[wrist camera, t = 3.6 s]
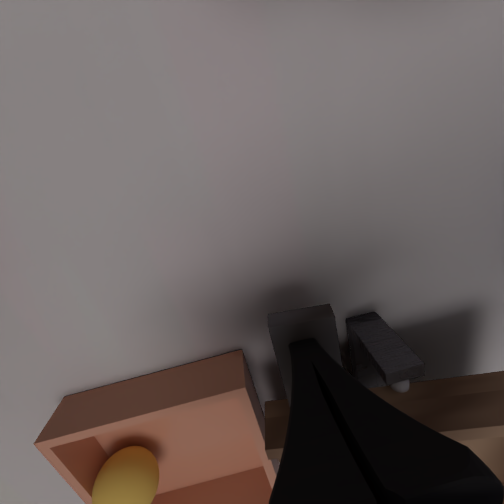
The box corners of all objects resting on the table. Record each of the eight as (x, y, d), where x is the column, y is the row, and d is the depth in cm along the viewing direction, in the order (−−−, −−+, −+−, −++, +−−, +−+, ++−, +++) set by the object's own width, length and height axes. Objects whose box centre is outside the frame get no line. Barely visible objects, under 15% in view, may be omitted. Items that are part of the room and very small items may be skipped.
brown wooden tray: (593, 250, 11) (703, 287, 9) (534, 462, 17) (588, 527, 14) (239, 313, 13) (232, 359, 11) (292, 483, 19) (297, 543, 16)
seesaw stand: (375, 311, 17) (424, 363, 13) (384, 432, 22) (422, 500, 18) (345, 318, 17) (385, 373, 13) (361, 439, 22) (394, 507, 18)
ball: (137, 421, 19) (153, 465, 16) (157, 454, 21) (176, 500, 17) (77, 465, 17) (82, 526, 14) (104, 498, 19) (114, 560, 15)
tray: (241, 349, 17) (245, 387, 15) (278, 459, 22) (286, 504, 19) (64, 396, 17) (33, 444, 14) (137, 497, 22) (124, 548, 19)
